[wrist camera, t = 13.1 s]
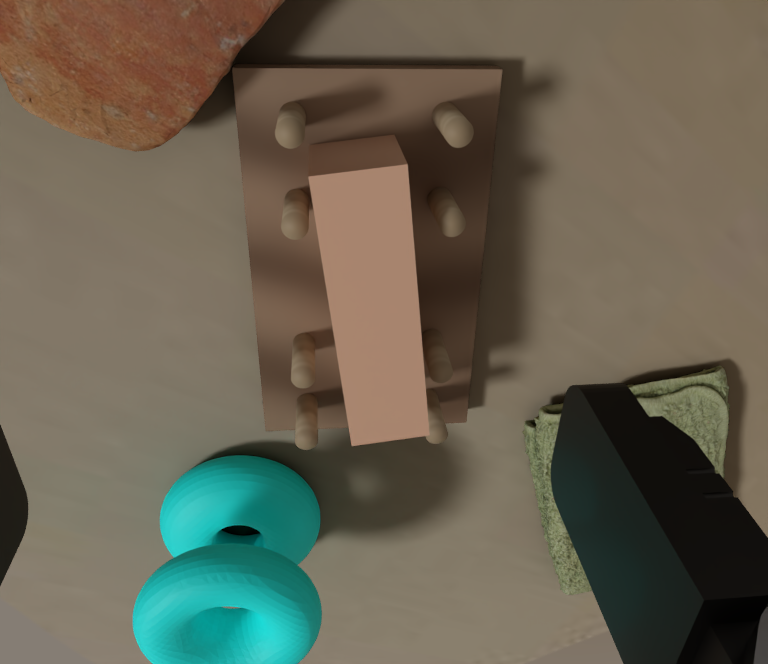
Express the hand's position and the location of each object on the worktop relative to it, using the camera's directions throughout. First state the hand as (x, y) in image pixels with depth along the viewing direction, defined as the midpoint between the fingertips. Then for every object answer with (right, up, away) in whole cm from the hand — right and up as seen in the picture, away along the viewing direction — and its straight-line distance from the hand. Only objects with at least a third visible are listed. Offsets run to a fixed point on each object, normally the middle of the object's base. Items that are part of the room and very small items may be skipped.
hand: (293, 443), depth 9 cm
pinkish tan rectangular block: (0, +5, +24) cm, 25 cm away
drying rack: (0, +5, +25) cm, 26 cm away
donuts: (-8, -10, +33) cm, 36 cm away
